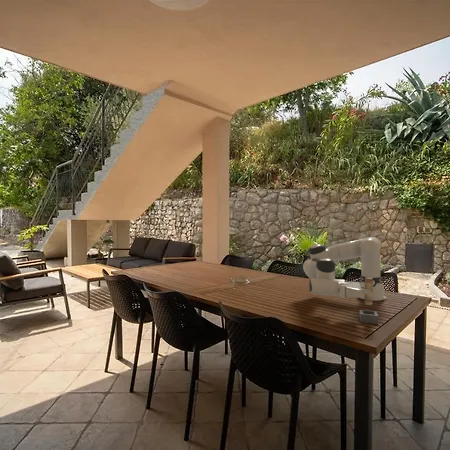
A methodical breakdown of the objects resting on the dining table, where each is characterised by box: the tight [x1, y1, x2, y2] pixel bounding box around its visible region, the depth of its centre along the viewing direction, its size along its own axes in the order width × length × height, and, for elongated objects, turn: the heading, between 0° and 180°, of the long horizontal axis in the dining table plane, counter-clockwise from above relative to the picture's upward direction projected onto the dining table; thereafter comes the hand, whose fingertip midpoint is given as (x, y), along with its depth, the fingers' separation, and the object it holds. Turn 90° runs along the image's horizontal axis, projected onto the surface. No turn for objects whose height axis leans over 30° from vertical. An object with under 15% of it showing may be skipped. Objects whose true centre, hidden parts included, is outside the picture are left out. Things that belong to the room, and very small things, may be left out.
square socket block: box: [358, 309, 379, 325], centre depth 162 cm, size 8×8×4 cm
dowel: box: [364, 278, 374, 306], centre depth 161 cm, size 4×4×13 cm
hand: (370, 290), depth 161 cm, fingers closed on dowel, 4 cm apart
